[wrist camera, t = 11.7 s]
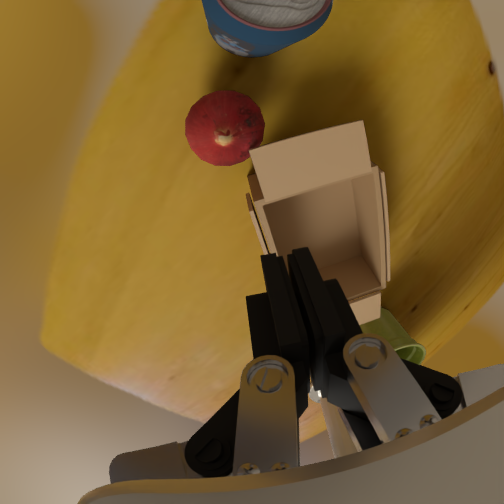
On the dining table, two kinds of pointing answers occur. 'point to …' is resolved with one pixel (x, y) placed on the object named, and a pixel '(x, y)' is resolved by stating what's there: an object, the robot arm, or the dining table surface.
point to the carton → (332, 229)
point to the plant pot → (395, 337)
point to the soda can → (263, 23)
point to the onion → (224, 127)
